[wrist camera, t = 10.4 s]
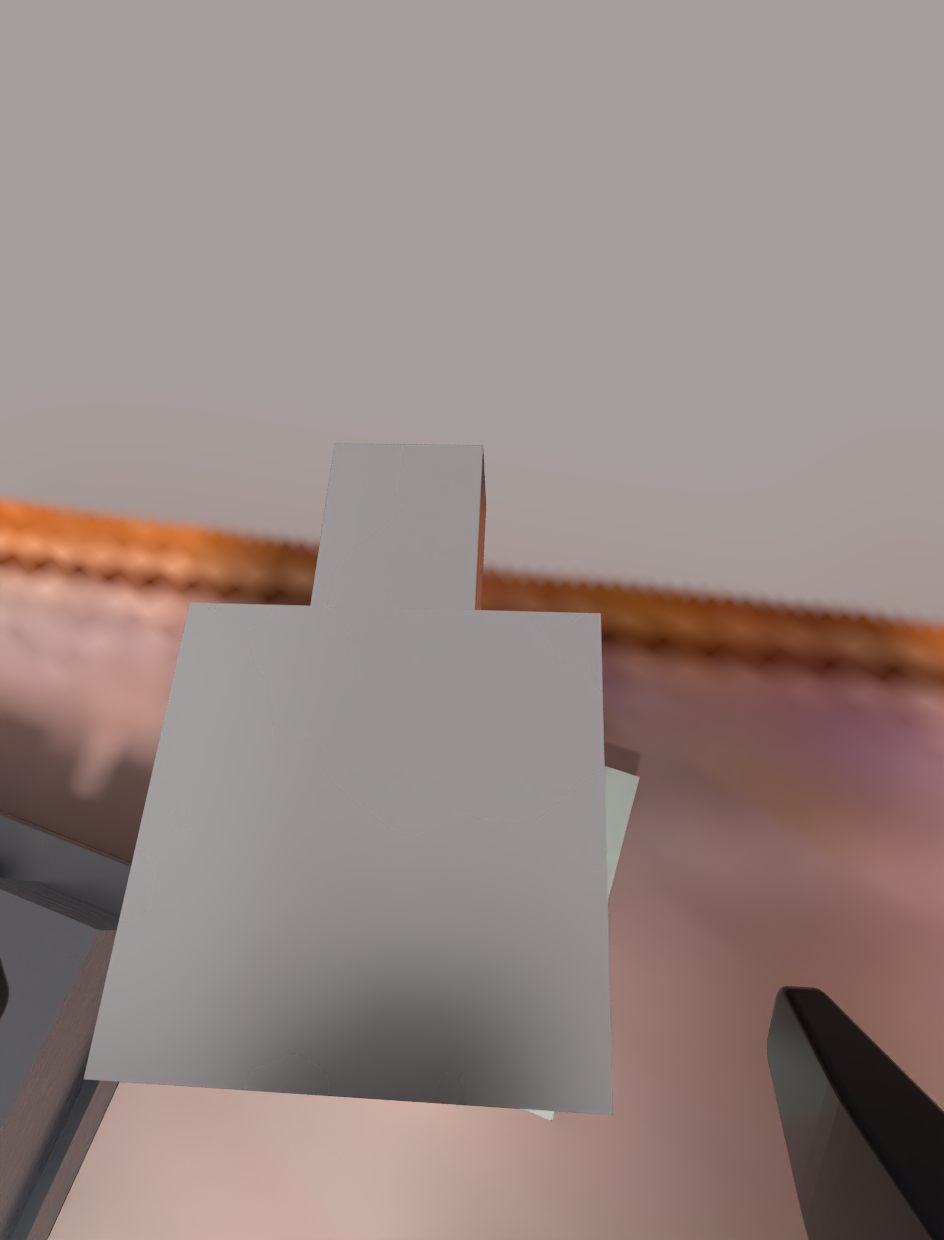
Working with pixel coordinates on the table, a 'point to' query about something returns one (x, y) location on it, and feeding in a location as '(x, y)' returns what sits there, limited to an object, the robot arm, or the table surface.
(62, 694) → the table surface
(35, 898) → the vise
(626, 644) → the table surface
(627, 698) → the table surface
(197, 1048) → the grey stepped block
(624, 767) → the table surface
